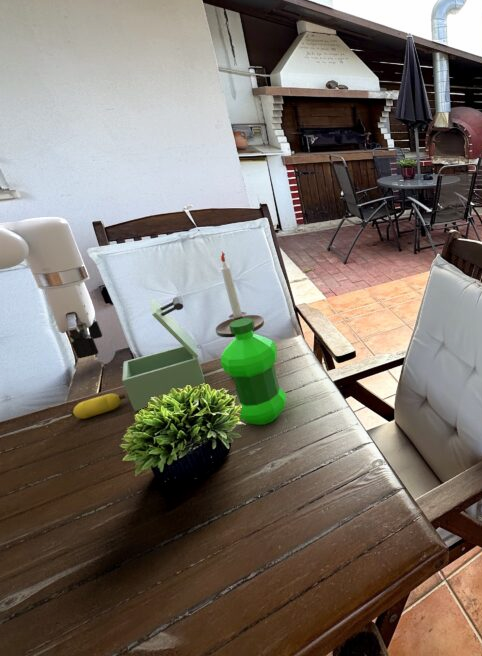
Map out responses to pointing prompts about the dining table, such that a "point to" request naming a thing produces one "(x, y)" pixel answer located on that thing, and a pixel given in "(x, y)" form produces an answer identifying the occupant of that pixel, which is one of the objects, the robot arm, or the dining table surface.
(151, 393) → the chest
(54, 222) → the robot arm
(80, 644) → the dining table surface
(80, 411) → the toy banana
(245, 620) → the dining table surface
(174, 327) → the lid
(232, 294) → the candlestick
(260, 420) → the plastic bottle
